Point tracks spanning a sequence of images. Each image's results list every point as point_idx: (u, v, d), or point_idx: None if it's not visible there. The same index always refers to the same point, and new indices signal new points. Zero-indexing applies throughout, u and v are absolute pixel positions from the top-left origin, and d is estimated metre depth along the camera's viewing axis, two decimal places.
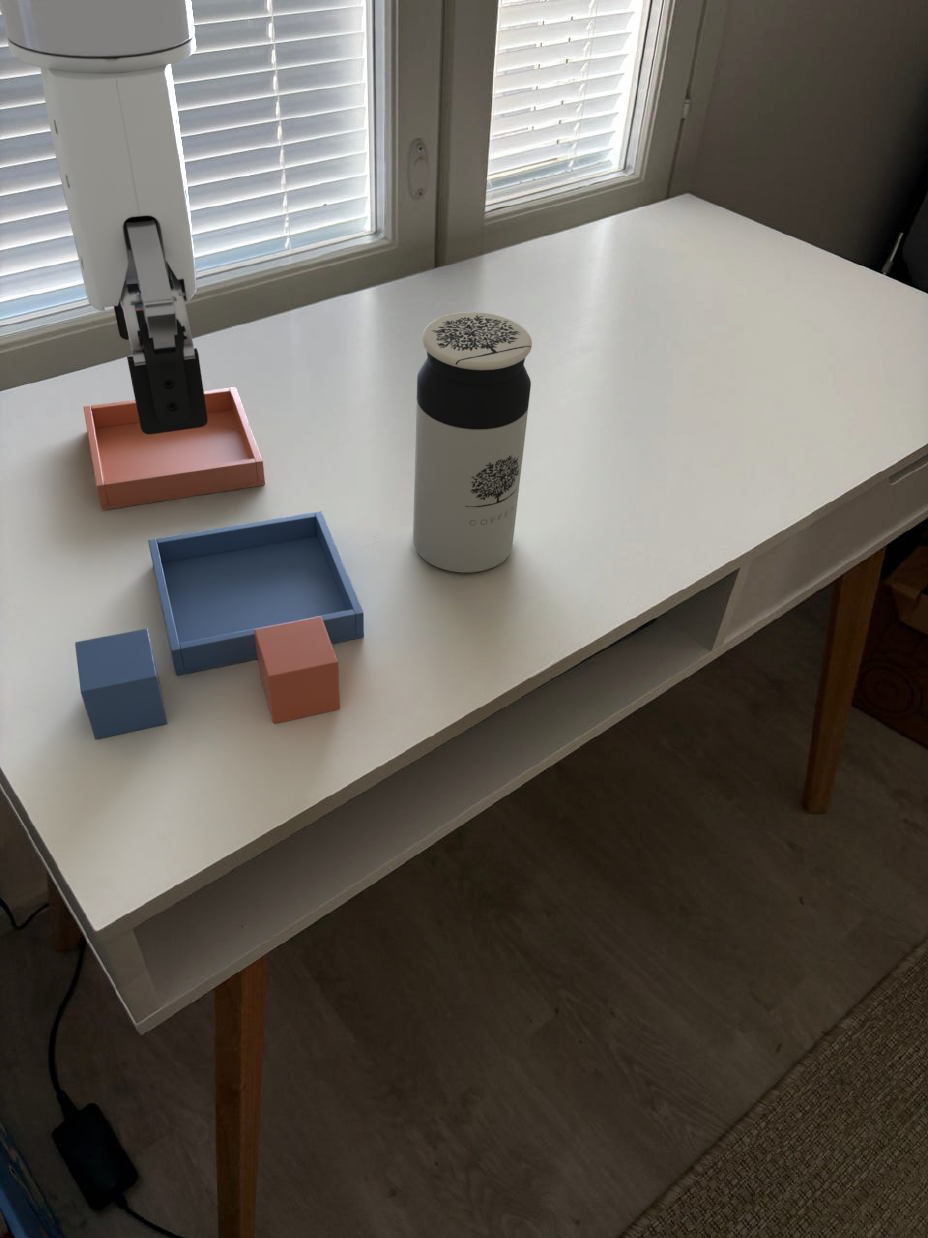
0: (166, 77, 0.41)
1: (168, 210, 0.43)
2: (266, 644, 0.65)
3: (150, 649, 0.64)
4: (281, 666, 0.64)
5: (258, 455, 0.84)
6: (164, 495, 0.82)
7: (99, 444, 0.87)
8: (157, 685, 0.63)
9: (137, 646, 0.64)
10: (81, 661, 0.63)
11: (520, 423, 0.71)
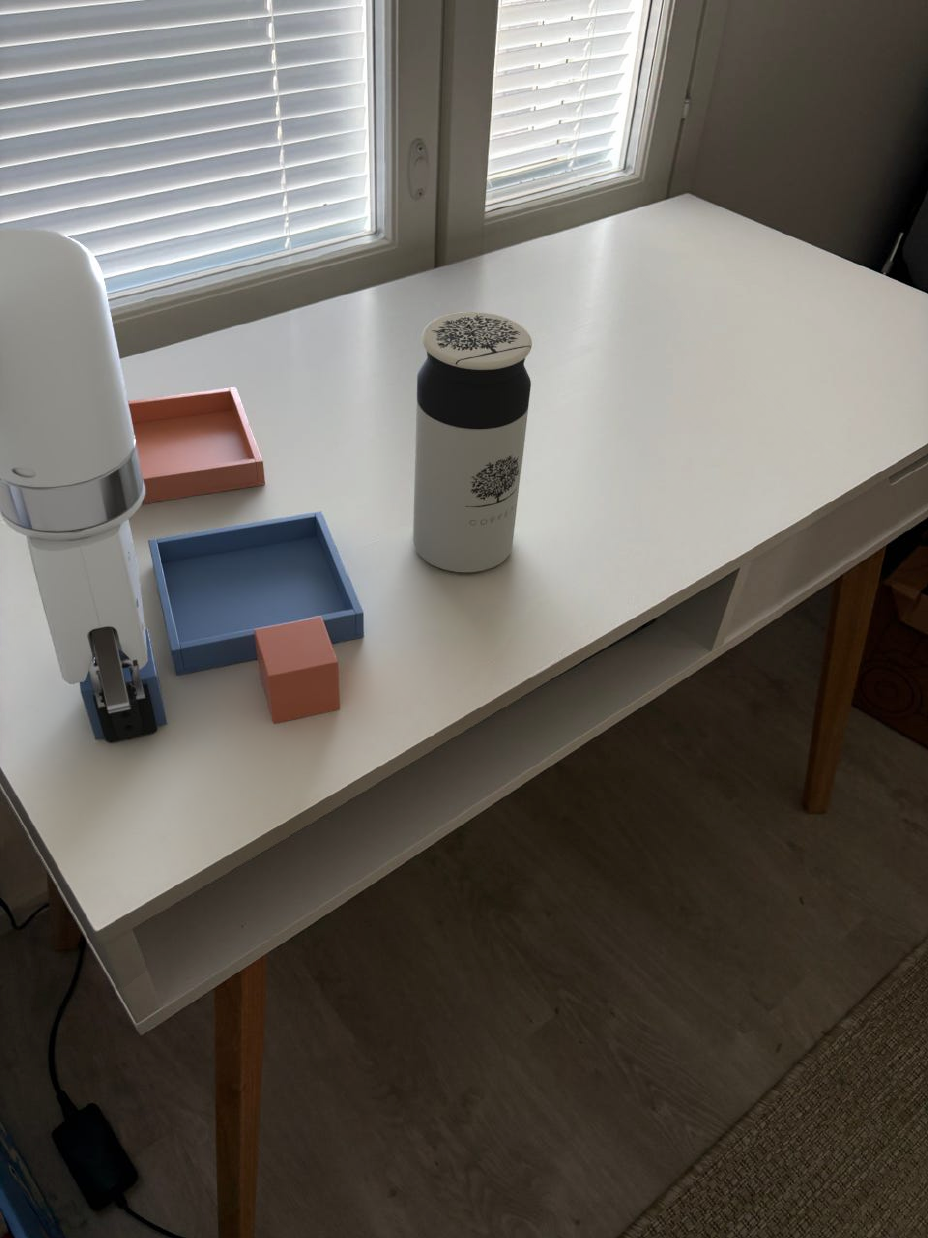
0: (120, 535, 0.53)
1: (123, 620, 0.55)
2: (266, 644, 0.65)
3: (150, 649, 0.64)
4: (281, 666, 0.64)
5: (258, 455, 0.84)
6: (164, 495, 0.82)
7: None
8: (157, 685, 0.63)
9: None
10: None
11: (520, 423, 0.71)
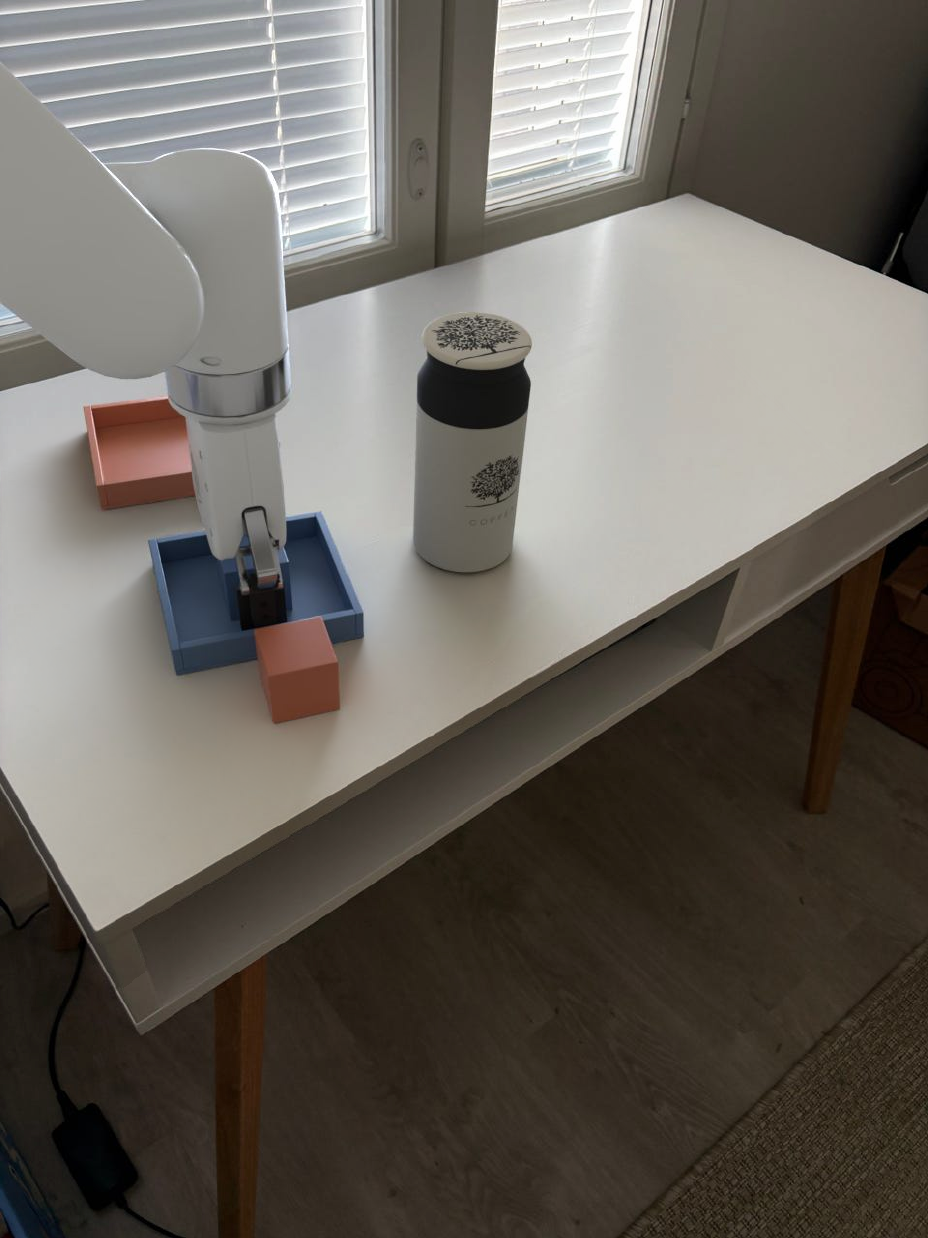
0: (275, 422, 0.61)
1: (272, 501, 0.63)
2: (266, 644, 0.65)
3: None
4: (281, 666, 0.64)
5: None
6: (164, 495, 0.82)
7: (99, 444, 0.87)
8: (288, 570, 0.71)
9: None
10: None
11: (520, 423, 0.71)
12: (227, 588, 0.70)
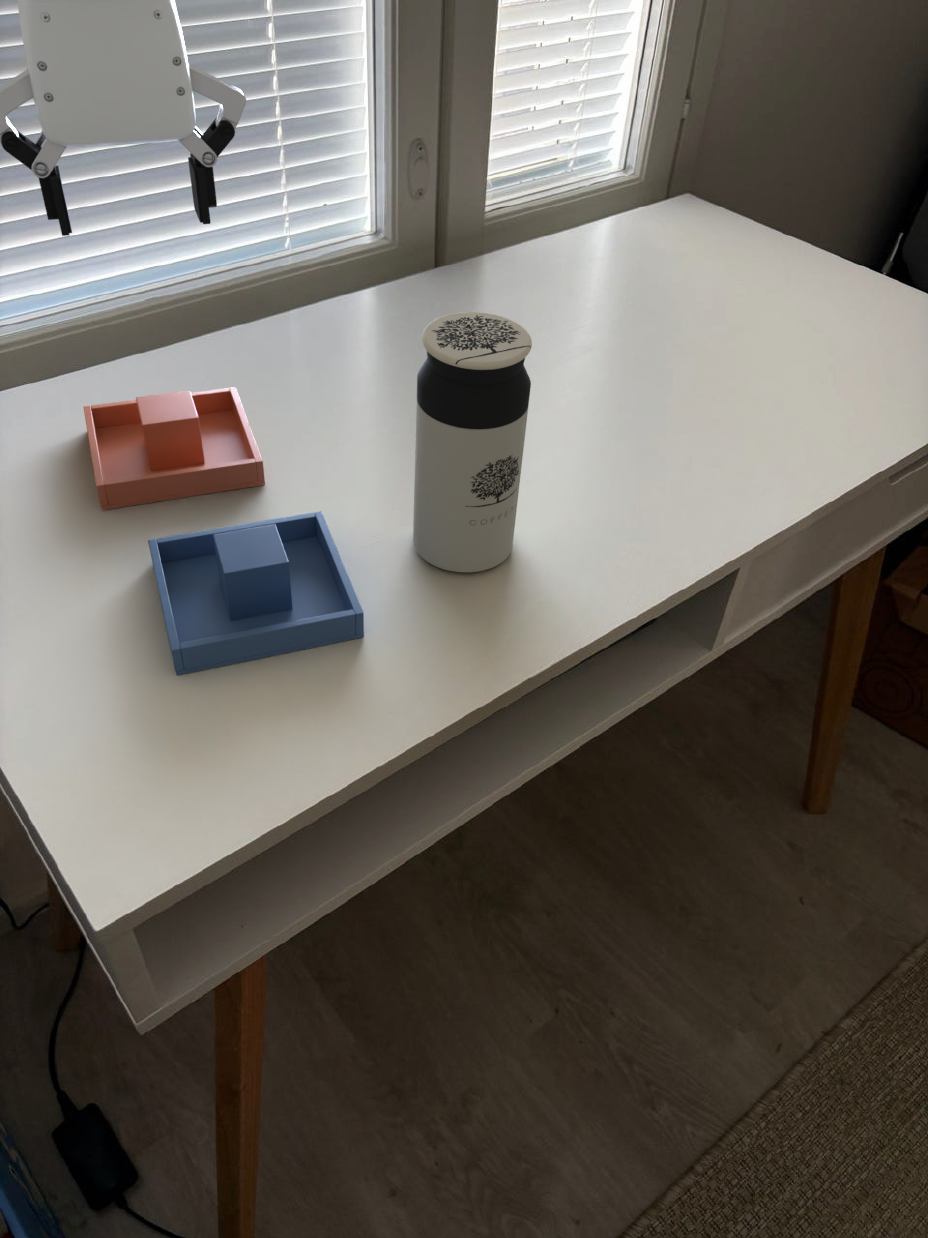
0: None
1: (29, 68, 0.64)
2: (144, 406, 0.84)
3: (280, 540, 0.72)
4: (153, 419, 0.82)
5: (258, 455, 0.84)
6: (164, 495, 0.82)
7: (99, 444, 0.87)
8: (288, 570, 0.71)
9: (268, 538, 0.72)
10: (221, 549, 0.71)
11: (520, 423, 0.71)
12: (227, 588, 0.70)
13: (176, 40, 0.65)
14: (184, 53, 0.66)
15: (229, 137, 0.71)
